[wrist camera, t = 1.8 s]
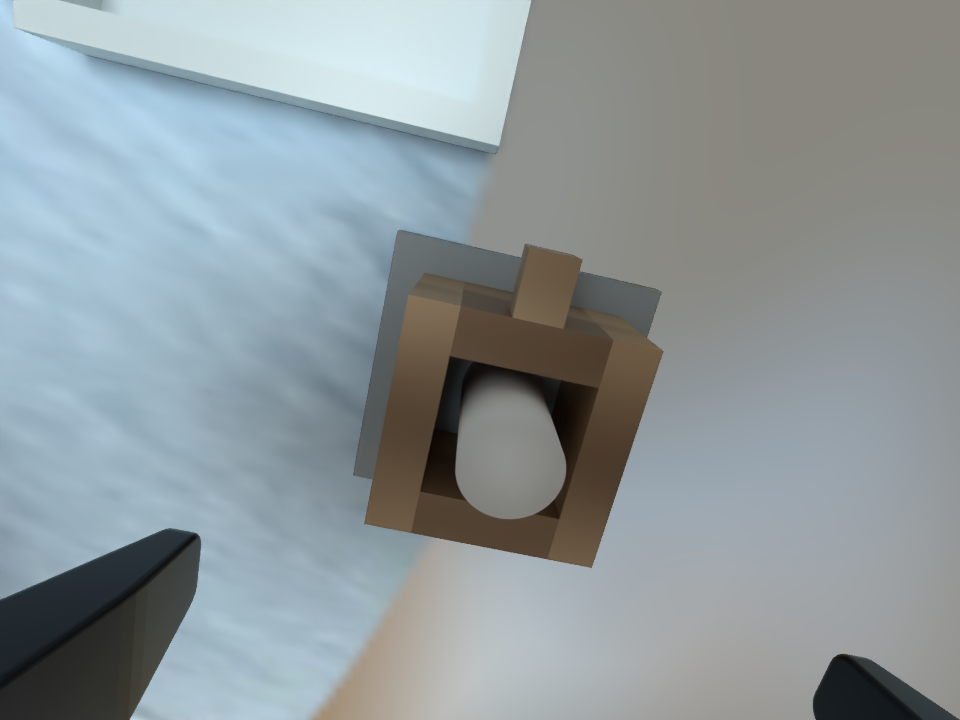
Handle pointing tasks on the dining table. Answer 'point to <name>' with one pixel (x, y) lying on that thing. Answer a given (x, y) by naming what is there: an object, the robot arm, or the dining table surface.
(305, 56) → the tray
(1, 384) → the dining table surface
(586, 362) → the open wooden frame
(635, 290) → the post base
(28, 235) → the dining table surface
